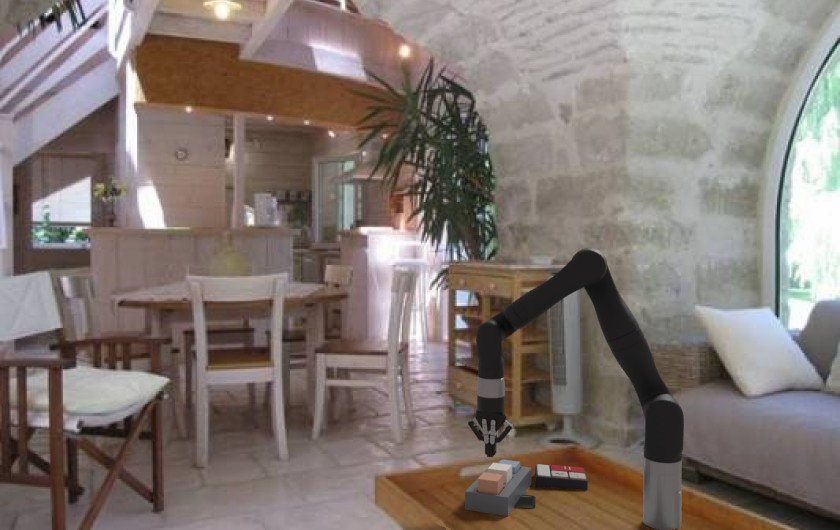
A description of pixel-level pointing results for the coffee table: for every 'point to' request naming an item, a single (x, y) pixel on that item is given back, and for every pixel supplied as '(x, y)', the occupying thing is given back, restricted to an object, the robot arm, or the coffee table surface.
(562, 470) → the calculator
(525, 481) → the key panel
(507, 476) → the white key
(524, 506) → the phone
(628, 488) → the coffee table surface
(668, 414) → the robot arm
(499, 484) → the terracotta key
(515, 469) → the slate key
